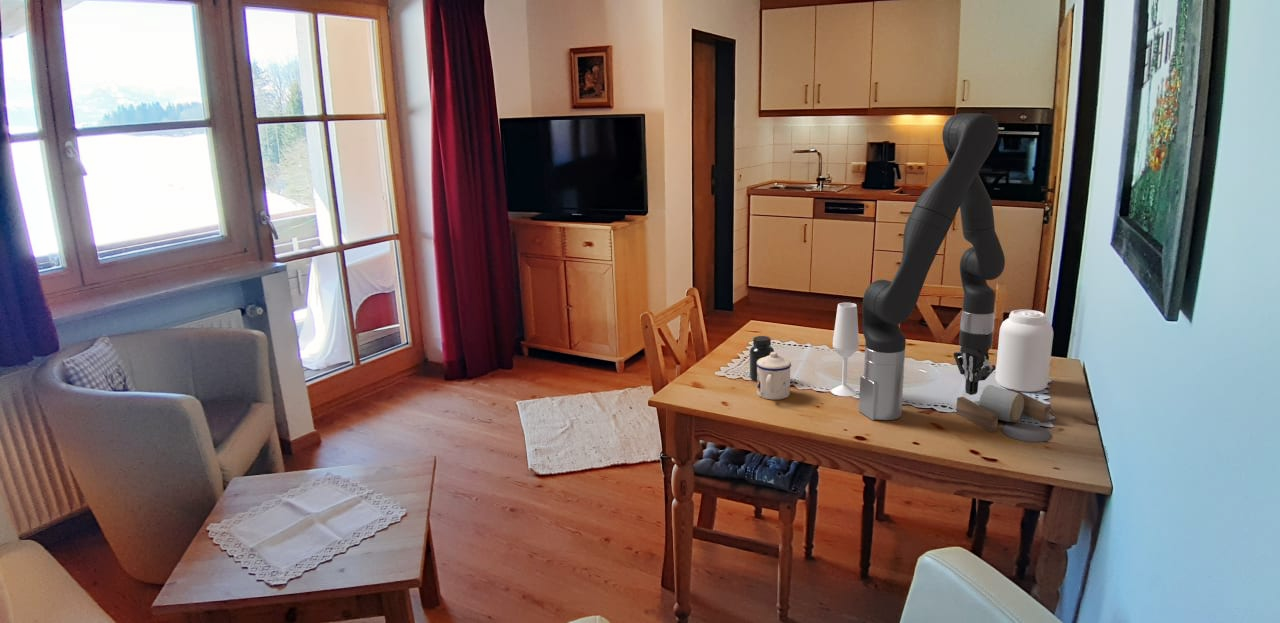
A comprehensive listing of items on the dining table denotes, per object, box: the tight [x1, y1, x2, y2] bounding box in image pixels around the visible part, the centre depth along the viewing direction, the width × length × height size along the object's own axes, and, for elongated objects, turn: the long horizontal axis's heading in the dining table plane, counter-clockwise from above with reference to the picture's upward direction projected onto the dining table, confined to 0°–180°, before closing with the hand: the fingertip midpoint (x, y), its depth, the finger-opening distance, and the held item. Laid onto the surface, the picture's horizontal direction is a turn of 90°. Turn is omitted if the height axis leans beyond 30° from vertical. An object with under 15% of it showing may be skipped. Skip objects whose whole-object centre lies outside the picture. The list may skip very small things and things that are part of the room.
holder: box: [955, 389, 1051, 433], centre depth 178 cm, size 16×12×4 cm
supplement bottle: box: [749, 335, 775, 383], centre depth 209 cm, size 7×7×12 cm
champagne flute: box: [830, 302, 860, 397], centre depth 195 cm, size 7×7×24 cm
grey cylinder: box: [978, 384, 1024, 423], centre depth 178 cm, size 11×8×8 cm
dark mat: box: [1001, 422, 1052, 443], centre depth 170 cm, size 10×10×1 cm
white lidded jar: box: [994, 308, 1054, 393], centre depth 196 cm, size 12×12×20 cm
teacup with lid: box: [756, 351, 792, 401], centre depth 196 cm, size 12×9×12 cm
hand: (971, 393), depth 189 cm, fingers closed
